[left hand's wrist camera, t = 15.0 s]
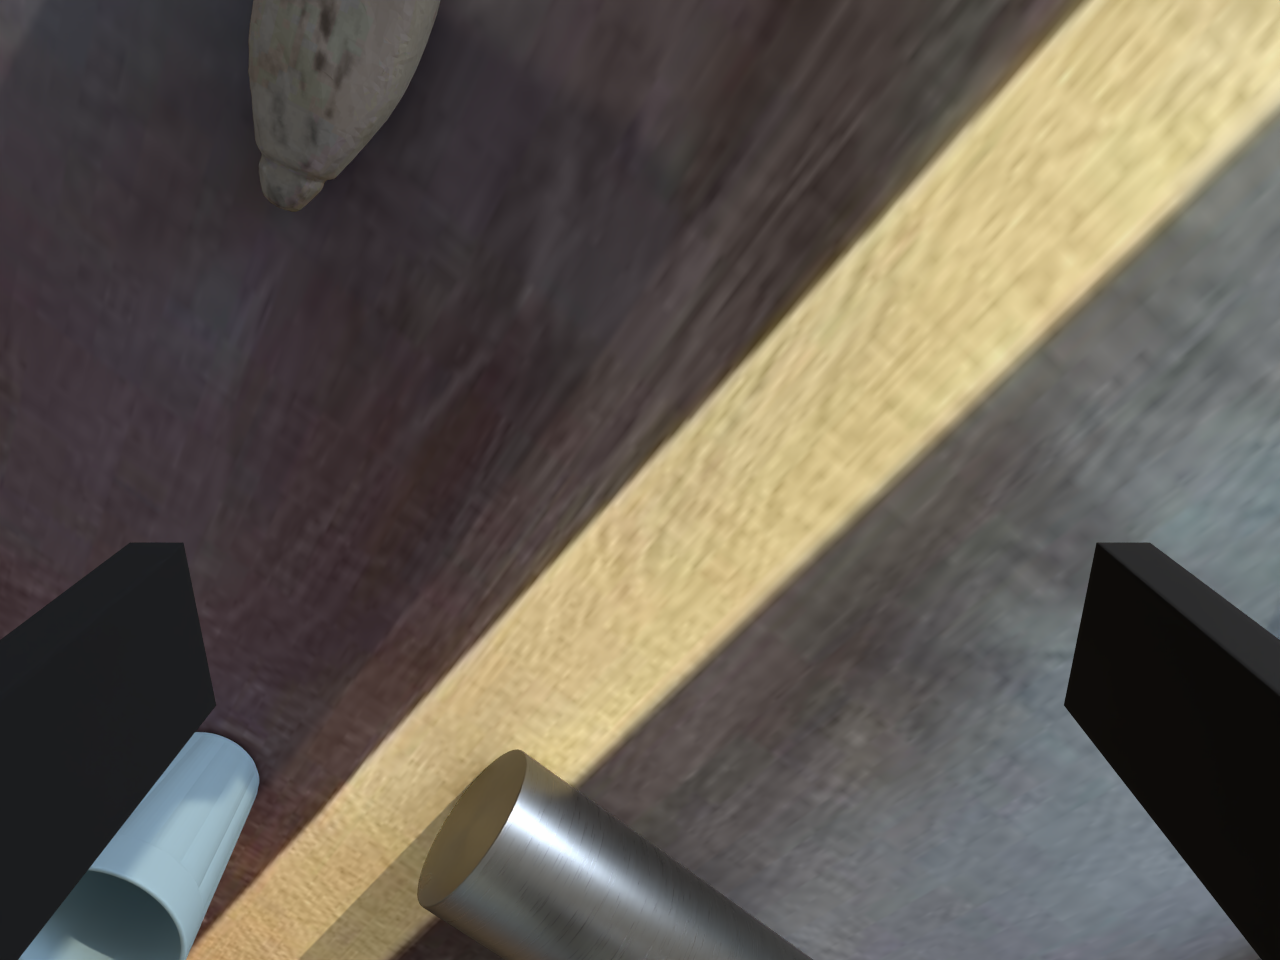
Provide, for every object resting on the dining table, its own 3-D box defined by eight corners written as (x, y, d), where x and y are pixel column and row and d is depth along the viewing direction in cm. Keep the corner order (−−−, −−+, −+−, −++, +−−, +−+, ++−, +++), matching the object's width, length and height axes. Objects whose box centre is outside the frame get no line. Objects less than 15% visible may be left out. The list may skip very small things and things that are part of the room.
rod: (438, 814, 47) (398, 942, 40) (535, 719, 45) (513, 836, 38) (728, 1009, 53) (743, 1157, 45) (827, 933, 50) (861, 1074, 43)
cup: (121, 711, 45) (-22, 866, 35) (269, 712, 45) (167, 866, 35) (149, 828, 48) (23, 1002, 38) (289, 828, 48) (199, 1002, 38)
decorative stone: (227, 175, 36) (186, 177, 33) (343, -241, 31) (309, -287, 28) (367, 239, 37) (341, 247, 34) (503, -155, 32) (487, -190, 29)
